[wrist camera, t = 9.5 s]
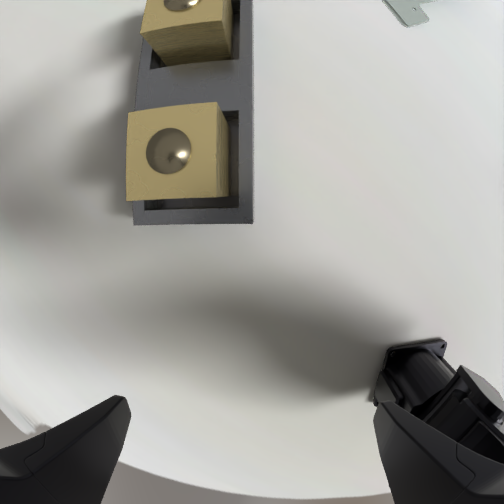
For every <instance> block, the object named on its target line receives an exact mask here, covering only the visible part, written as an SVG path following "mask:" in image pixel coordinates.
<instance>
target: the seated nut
mask: <svg viewBox="0 0 504 504" xmlns="http://www.w3.org/2000/svg"><path fill="white" fill-rule="evenodd" d="M225 196H231V129H230V127H229V125H228V123H227V121H226V119H225V117H224V115H223V113H222V111H221V109H220V107H219V105H218V103H217V102H208V103H196V104H185V105H176V106H168V107H161V108H154V109H147V110H141V111H135V112H130V113H128V124H127V145H126V201H137V200H155V199H176V198H205V197H225Z"/></svg>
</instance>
